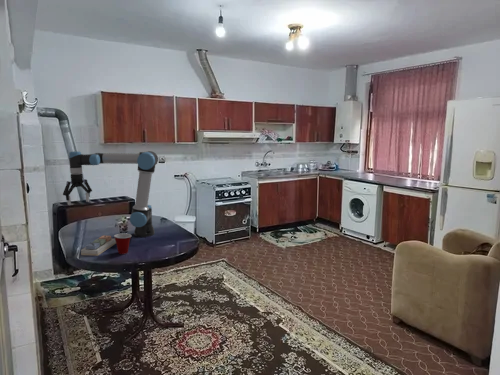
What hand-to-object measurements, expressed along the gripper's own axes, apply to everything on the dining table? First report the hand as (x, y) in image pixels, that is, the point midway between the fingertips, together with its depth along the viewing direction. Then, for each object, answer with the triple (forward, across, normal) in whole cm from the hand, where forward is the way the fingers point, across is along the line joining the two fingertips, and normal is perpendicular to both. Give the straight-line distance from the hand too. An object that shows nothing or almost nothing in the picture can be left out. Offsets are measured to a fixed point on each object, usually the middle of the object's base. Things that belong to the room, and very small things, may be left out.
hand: (78, 203), depth 245 cm
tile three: (+24, +11, +31) cm, 40 cm away
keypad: (+27, +4, +27) cm, 39 cm away
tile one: (+24, -4, +23) cm, 33 cm away
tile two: (+24, +3, +27) cm, 36 cm away
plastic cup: (+28, -1, +46) cm, 54 cm away
